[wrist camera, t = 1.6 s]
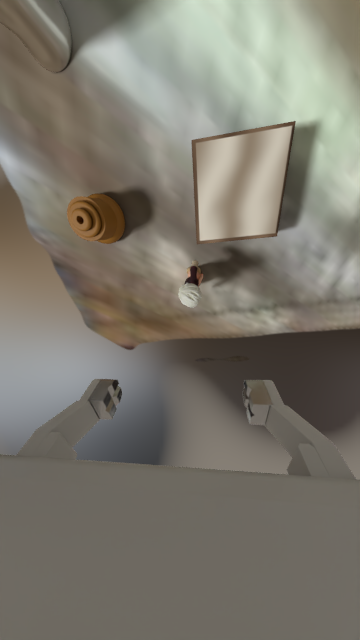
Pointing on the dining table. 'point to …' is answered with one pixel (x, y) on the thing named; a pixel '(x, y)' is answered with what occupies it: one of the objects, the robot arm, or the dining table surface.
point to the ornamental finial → (96, 218)
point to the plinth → (240, 183)
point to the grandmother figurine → (191, 286)
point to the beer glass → (40, 30)
